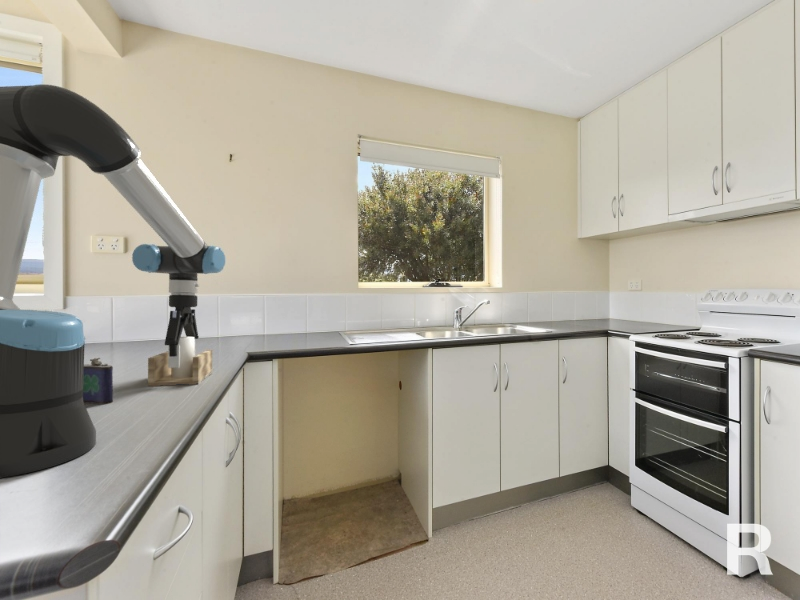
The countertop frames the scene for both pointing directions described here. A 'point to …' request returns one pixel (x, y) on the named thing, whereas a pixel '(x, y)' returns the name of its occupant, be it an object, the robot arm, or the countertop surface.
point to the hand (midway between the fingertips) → (182, 363)
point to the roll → (184, 359)
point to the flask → (97, 382)
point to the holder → (162, 373)
